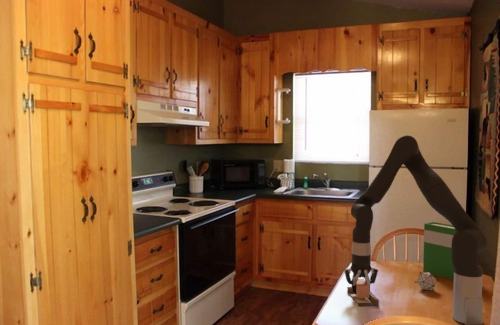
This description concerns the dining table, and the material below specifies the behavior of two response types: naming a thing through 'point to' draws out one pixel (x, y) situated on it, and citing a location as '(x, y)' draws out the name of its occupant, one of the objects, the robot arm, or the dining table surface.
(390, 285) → the dining table surface
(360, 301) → the tray
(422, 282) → the game die
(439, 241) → the hardback book
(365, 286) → the block
